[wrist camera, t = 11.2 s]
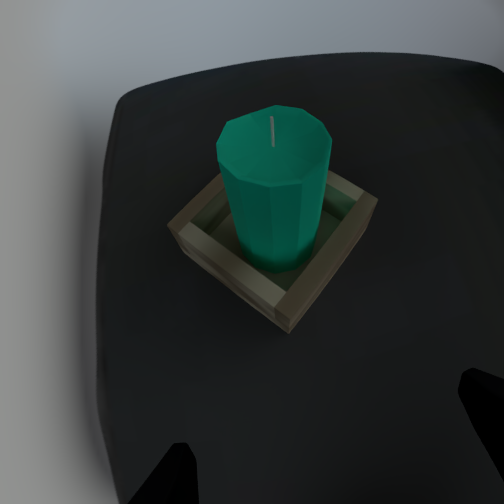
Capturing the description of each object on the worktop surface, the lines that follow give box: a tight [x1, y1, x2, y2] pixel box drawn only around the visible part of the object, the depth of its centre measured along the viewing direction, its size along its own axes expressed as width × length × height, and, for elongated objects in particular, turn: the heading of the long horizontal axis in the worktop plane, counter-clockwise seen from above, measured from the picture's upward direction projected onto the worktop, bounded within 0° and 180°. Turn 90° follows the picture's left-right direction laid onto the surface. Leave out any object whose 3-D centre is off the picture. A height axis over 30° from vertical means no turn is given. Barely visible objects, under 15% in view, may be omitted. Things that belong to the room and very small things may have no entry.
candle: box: [216, 105, 332, 274], centre depth 19 cm, size 6×6×12 cm
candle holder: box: [167, 170, 378, 334], centre depth 24 cm, size 11×11×4 cm
